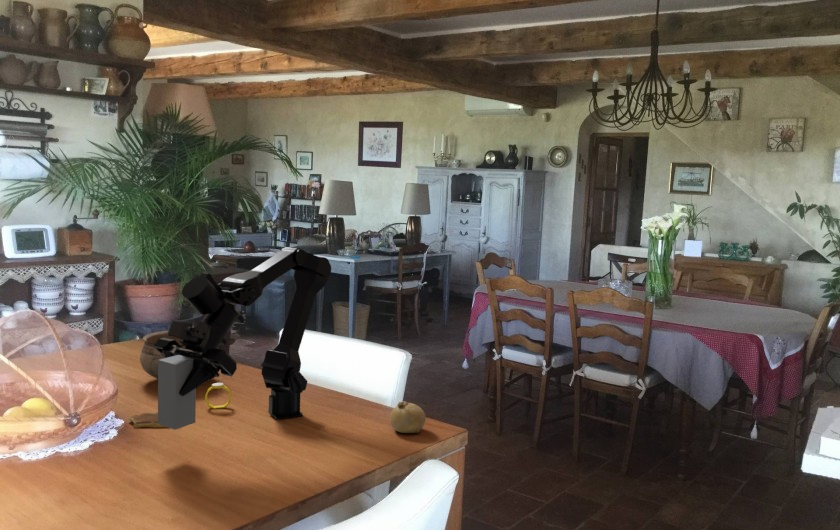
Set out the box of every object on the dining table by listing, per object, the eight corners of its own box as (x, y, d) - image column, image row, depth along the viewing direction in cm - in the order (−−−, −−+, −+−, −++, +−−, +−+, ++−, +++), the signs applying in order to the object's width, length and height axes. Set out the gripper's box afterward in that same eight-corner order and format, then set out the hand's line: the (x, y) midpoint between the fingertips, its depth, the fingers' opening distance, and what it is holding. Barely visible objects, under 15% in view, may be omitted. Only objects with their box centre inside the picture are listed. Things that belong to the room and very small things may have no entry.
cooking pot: (149, 369, 203) (149, 327, 201) (217, 368, 206) (218, 327, 205) (130, 395, 178) (130, 348, 177) (208, 394, 182) (208, 347, 180)
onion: (404, 422, 166) (405, 393, 165) (431, 430, 161) (433, 400, 160) (382, 431, 159) (383, 401, 158) (411, 440, 155) (412, 408, 154)
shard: (181, 428, 157) (181, 421, 157) (149, 437, 152) (149, 429, 151) (155, 417, 164) (155, 409, 164) (124, 425, 158) (123, 417, 158)
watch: (231, 405, 173) (231, 382, 172) (230, 409, 170) (230, 385, 170) (206, 406, 172) (206, 382, 171) (204, 410, 169) (204, 385, 168)
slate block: (178, 416, 144) (178, 354, 142) (195, 422, 141) (196, 359, 139) (157, 423, 139) (158, 359, 137) (175, 429, 137) (175, 364, 135)
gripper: (160, 299, 145) (114, 362, 137) (226, 310, 136) (180, 378, 128) (190, 330, 153) (148, 391, 145) (255, 342, 144) (213, 409, 135)
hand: (171, 392), depth 138 cm, fingers closed on slate block, 5 cm apart
